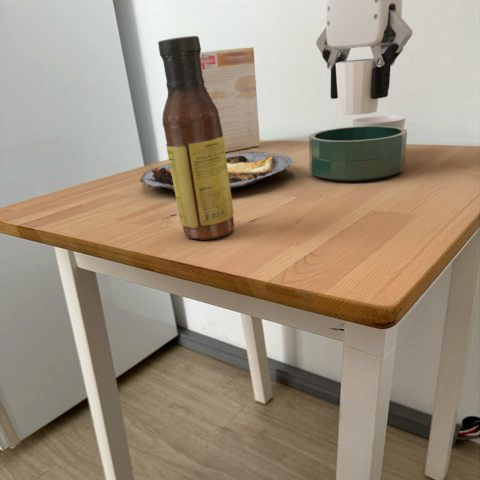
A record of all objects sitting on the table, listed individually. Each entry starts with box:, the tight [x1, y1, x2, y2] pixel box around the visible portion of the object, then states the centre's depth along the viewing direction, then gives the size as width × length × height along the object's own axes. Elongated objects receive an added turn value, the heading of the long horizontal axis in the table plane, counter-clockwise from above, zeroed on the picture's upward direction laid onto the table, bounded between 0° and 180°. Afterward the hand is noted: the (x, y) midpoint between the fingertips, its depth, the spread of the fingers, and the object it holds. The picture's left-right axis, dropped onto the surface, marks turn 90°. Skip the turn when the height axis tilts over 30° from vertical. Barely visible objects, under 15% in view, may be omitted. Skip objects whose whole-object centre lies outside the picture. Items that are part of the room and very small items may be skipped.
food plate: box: [139, 151, 295, 192], centre depth 78 cm, size 25×23×4 cm
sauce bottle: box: [157, 35, 235, 241], centre depth 51 cm, size 7×6×20 cm
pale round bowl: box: [352, 114, 407, 129], centre depth 84 cm, size 9×9×6 cm
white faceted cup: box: [336, 58, 379, 116], centre depth 70 cm, size 7×7×7 cm
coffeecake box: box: [200, 46, 261, 153], centre depth 101 cm, size 15×7×20 cm, turn 120°
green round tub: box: [308, 126, 408, 183], centre depth 75 cm, size 15×15×6 cm
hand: (358, 96), depth 71 cm, fingers closed on white faceted cup, 6 cm apart
